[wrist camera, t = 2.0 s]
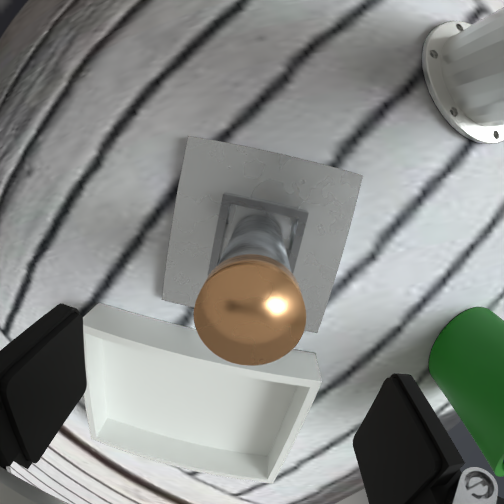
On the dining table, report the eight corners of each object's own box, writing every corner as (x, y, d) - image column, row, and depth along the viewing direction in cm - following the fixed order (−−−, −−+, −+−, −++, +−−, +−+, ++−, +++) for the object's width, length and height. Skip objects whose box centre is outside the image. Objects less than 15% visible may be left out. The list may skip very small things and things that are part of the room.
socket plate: (359, 175, 25) (368, 176, 22) (315, 327, 28) (319, 341, 26) (191, 137, 24) (183, 134, 22) (164, 295, 28) (156, 306, 26)
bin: (315, 352, 29) (322, 381, 25) (272, 456, 33) (272, 483, 29) (99, 302, 29) (77, 322, 24) (104, 415, 33) (91, 438, 29)
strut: (290, 219, 25) (319, 279, 12) (277, 271, 26) (289, 373, 13) (235, 207, 25) (203, 254, 12) (224, 260, 26) (187, 352, 13)
